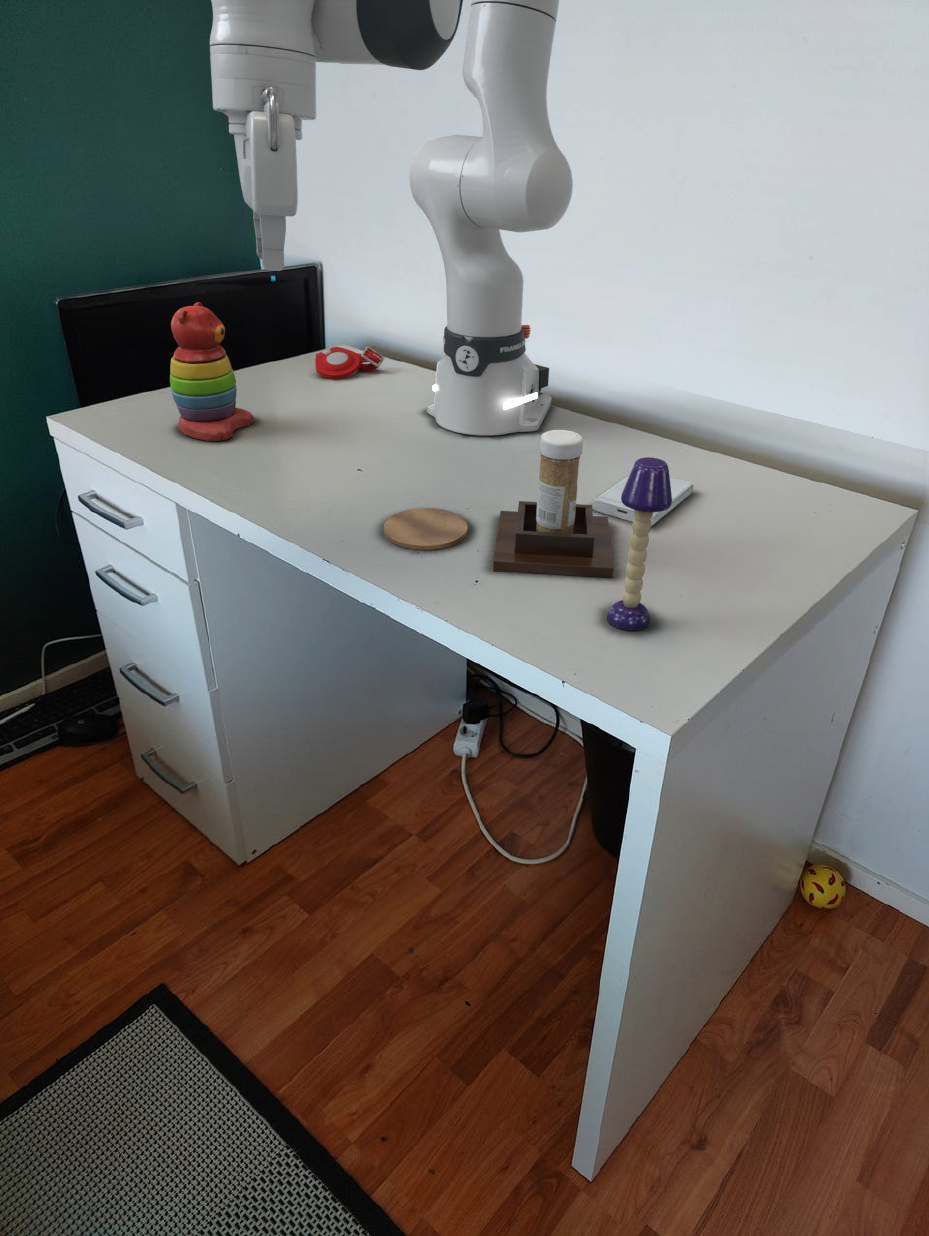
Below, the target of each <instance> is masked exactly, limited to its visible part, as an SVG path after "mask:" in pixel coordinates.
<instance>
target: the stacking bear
mask: <svg viewBox="0 0 929 1236" xmlns="http://www.w3.org/2000/svg"><path fill="white" fill-rule="evenodd" d="M170 329H171V333H172V336H173V338H174V340H175V342H176V344H177V345H178V347H176V349H175V351H174V352H173V356H172V357H171V359H170V368H169V369H170V370H169V371H170V372H169V373H170V374H169V384H170V389H171V395H172V398H173V401H174V403H175V404H176V405H175V406H176V408H177V410H178V413H179V415H180V417H179V420H178V430H179V431H180V432H181V433H182V434H184V435H185V436H188V437H191V438H192V439H197V440H201V441H207V442H223V441H226V440H228V439H230V438H232V437H233V432H234V431H235V430H237V429H240V428H244V427H248V426H251V425H252V424H253V423H254V422H255V417H254V414H252V413H251V412H250V411H249V410H247V409H243V408H240V407H236V406H237V399H236V398H237V380H236V376H235V373H234V369H233V368H232V364H231V361H230V359H229V357H228V355H227V351H226V349H224V347H223V346H222V345H220V344H221V343H222V341H223V340H224V338H225V333H226V328H225V325H224V323H222V321H221V320H220V319H219V318H218V317H217V315H215V313H214V312H213V311H212V310H211V309H209V308H208V307H205V306H204V305H203V304H202V302H200V301H198V302H195V303H194V304H193V305H187V306H183V307H181V308H179V309H178V310H177V311H175V312H174V314H173V316H172V319H171V322H170Z"/></svg>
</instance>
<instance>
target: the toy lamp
mask: <svg viewBox="0 0 929 1236" xmlns="http://www.w3.org/2000/svg"><path fill="white" fill-rule="evenodd" d="M628 476H629V477H628ZM628 476H627V477H628V480H627V482H626V485H625V487H624V490H623V492H622V496H621V501H622V503H623V504H624V505H625V506H627V507H628V508H631V509H633V510H634V516H635V519H634V521H633V522H632V525H631V530H632V534H631V536H630V539H629V545H630V548H629V549H628V553H627V560H628V563H627V565H626V569H625V573H626V578H625V580H624V592H623V595H622V600H621V599H620V600H619V601H616V602H615V603H613V604H612V606H611V607H610V608H609V610H608V612H607V615H606V619H607V621H608V623H609V624H610V625H611V626H613V627H615V628H617V629H621V630H624V631H639V630H643V629H645V628H647V627H648V626H649V625H650V622H651V618H650V613H649V610H648V608H647V607H646V606H645V604H643V603H641V600H642V594H641V591H642V589H643V586H644V580H643V577H644V575H645V572H646V566H645V562H646V560H647V557H648V552H647V548H648V546H649V543H650V537H649V534H650V532H651V530H652V526H651V521H650V519H651V518H652V516H653V512H660V511H664V510H667V509H668V508H669V507H670V506H671V503H672V494H671V485H670V477H671V476H670V469H669V465H668V463H667V462H666V461H665V460H663V459H660V458H658V457H649V456H648V457H647V456H646V457H640V458H638V459H636V460H635V462H634V464H633V465H632V467H631V471H630V473H629V474H628Z"/></svg>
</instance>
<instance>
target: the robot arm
mask: <svg viewBox="0 0 929 1236" xmlns="http://www.w3.org/2000/svg"><path fill="white" fill-rule="evenodd" d="M210 1H211V7H212V26H211V32H210V35H209V58H210V73H211V77H210V78H211V93H212V94H211V95H212V110H214V111H215V112H219V113H223V114H224V115H225V116H226V117H228V118H227V119H228V123H229V124H228V133H229V134H230V135H233V139H234V145H235V152H236V158H237V160H236V161H237V167H238V175H239V182H240V187H241V191H242V193H241V194H242V197H243V201H244V203H245V204H246V205H247V206H248V207H249V208H250V209H251V210H252V214H253V215H252V217H253V225H254V232H255V233H254V234H255V242H256V243H255V245H256V246H255V247H256V255H257V257H258V258H259V259H260V260H262V266H263V268H264V269H265V270H266V271H272V272H273V271H274V272H280V271H282V270H284V268H285V242H286V232H287V218H286V217H294V216H296V214H297V211H298V205H299V204H298V202H299V199H298V198H299V193H298V190H299V189H298V161H297V160H298V158H297V141H302V140H303V131H302V130H303V121H315V120H316V119H317V63H325V64H326V63H327V64H330V63H331V64H342V65H375V66H376V65H381V66H388V67H392V68H393V67H394V68H399V69H408V70H415V71H424V70H428V69H430V68H431V67H432V66H434V65H435V64H436V63H437V62H438V61H439V60H440V59H441V57H443V55H444V54H445V53H446V52H447V50H448V48H449V47H450V46H451V44H452V42H453V40H454V38H455V36H456V34H457V31H458V29H459V25H460V21H461V20H460V19H461V15H462V9H463V3H464V0H210ZM559 5H560V0H471V3H470V11H469V18H468V19H469V20H468V25H467V26H468V27H467V33H466V34H467V35H466V42H465V47H464V48H465V49H464V55H463V62H462V78H463V82H464V84H465V87H466V88H467V90H468V91H469V92H470V94H471V95H472V96H473V97H474V98H475V99H476V100H477V102H478V104H479V107H480V111H481V115H482V116H481V118H482V136H477V135H464V134H463V135H462V134H452V135H446V136H442V137H438V138H435V139H430V140H428V141H426V142H424V143H423V144H421V145H420V147H419V148H418V149H417V150H416V152H415V154H414V156H413V158H412V160H411V164H410V168H409V188H410V191H411V195H412V197H413V200H414V202H415V203H416V205H417V206H418V207H419V209H421V210H422V212H423V213H424V215H425V217H426V218H427V219H428V222H429V224H430V225H431V227H432V229H433V232H434V235H435V238H436V240H437V243H438V247H439V249H440V253H441V257H442V262H443V267H444V273H445V283H446V326H445V327H444V329H443V337H442V342H443V353H444V356H443V357H442V358H441V359H440V360H439V361H437V364H436V370H435V384H433V385H432V391H433V392H434V397H433V398H434V399H433V403H430V404H428V405H427V409H426V413H427V414H428V415H430V416H431V417H433V418H434V420H435V422H436V424H438V425H439V426H440V427H441V428H443V429H445V430H447V431H451V432H454V433H459V434H463V435H469V436H500V435H507V434H512V433H519V432H520V433H524V432H525V433H527V432H536V431H538V430H539V429H540V427H541V425H542V423H543V421H544V419H545V417H546V415H547V414H548V411H549V410H550V408H551V406H552V404H553V398H552V396H550V395H548V394H545V393H543V392H541V390H542V389H544V388H546V387H549V377H550V376H549V375H550V367H547V366H543V365H540V364H535V363H533V361H532V360H531V359H530V358H529V356H528V355H527V354H526V350H527V349H526V340H528V339H529V338H530V335H531V331H532V330H531V325H530V324H522V321H523V318H522V317H523V301H524V300H523V299H524V283H525V282H524V276H523V272H522V270H521V268H520V266H519V264H517V262H516V261H515V260H514V259H513V258H512V256H510V255H509V253H508V251H507V248H506V246H505V244H504V242H503V239H502V235H501V232H500V231H501V230H502V231H507V232H513V233H531V232H536V231H537V232H538V231H545V230H549V229H551V228H554V227H555V226H556V225H557V224H558V223H559V222H560V221H561V220H562V219H563V217H564V215H565V214H566V212H567V210H568V208H569V205H570V204H571V201H572V195H573V188H574V186H573V185H574V181H573V173H572V170H571V167H570V164H569V161H568V159H567V158H566V156H565V155H564V153H563V152H562V150H561V149H560V148H559V146H558V144H557V142H556V140H555V138H554V135H553V132H552V128H551V123H550V117H549V111H548V98H547V97H548V95H547V94H548V80H549V74H550V73H549V72H550V65H551V58H552V57H551V56H552V49H553V43H554V37H555V31H556V25H557V19H558V13H559Z"/></svg>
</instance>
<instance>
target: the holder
mask: <svg viewBox="0 0 929 1236" xmlns="http://www.w3.org/2000/svg"><path fill="white" fill-rule="evenodd" d="M592 507H593V504H580V503H579V504H578V503H576V510H575V522H574V527H573V534H569V533H552V532H536V525H537V521H536V514H537V501H524V500H518V506H517V511H513V510H512V511H511V510H500V512H499V519H498V520H499V521H498V526H497V533H496V541H495V549H494V554H493V565H492V566H493V567H492V570H493V571H495V572H496V571H497V572H510V573H511V572H512V573H529V574H543V575H544V574H546V575H558V576H559V575H562V576H576V577H578V576H579V577H593V578H595V577H596V578H613V577H614V561H613V551H612V541H611V532H610V524H609V523H610V522H609V517H608V516H602V515H601V516H600V515H594V514H593V513H594V512H593V511H594V510H593V509H592Z"/></svg>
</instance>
